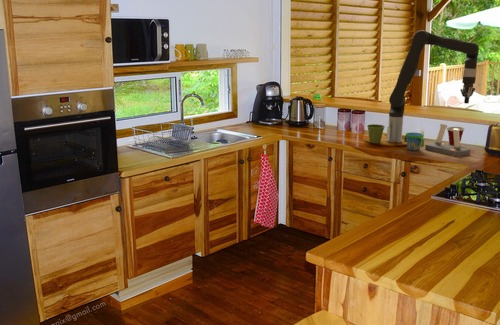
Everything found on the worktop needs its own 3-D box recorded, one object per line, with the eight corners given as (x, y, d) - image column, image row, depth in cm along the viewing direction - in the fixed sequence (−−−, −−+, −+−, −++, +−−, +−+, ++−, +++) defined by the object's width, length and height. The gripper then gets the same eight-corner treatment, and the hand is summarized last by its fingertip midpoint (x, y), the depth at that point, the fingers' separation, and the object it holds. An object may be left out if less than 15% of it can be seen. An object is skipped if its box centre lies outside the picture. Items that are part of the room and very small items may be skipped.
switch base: (457, 156, 332) (458, 151, 331) (425, 149, 351) (425, 144, 350) (469, 154, 338) (470, 149, 338) (437, 146, 358) (437, 142, 357)
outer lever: (458, 149, 337) (457, 130, 332) (453, 148, 339) (452, 129, 334) (461, 148, 338) (459, 128, 333) (456, 147, 340) (454, 127, 335)
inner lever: (439, 144, 347) (445, 124, 347) (434, 143, 350) (440, 123, 349) (441, 145, 349) (447, 125, 348) (436, 144, 351) (442, 124, 351)
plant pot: (363, 143, 369) (364, 126, 366) (368, 139, 379) (369, 123, 376) (381, 145, 363) (382, 128, 361) (386, 141, 374) (387, 125, 371)
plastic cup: (441, 145, 363) (443, 127, 360) (454, 143, 367) (456, 125, 364) (452, 148, 353) (454, 130, 350) (466, 147, 357) (468, 128, 354)
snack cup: (428, 151, 345) (429, 135, 342) (414, 153, 341) (415, 137, 339) (412, 146, 359) (413, 131, 357) (399, 147, 356) (400, 132, 353)
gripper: (470, 74, 350) (467, 101, 355) (457, 75, 343) (454, 103, 347) (481, 75, 344) (477, 103, 349) (468, 76, 337) (465, 105, 341)
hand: (466, 103), depth 348 cm, fingers closed
